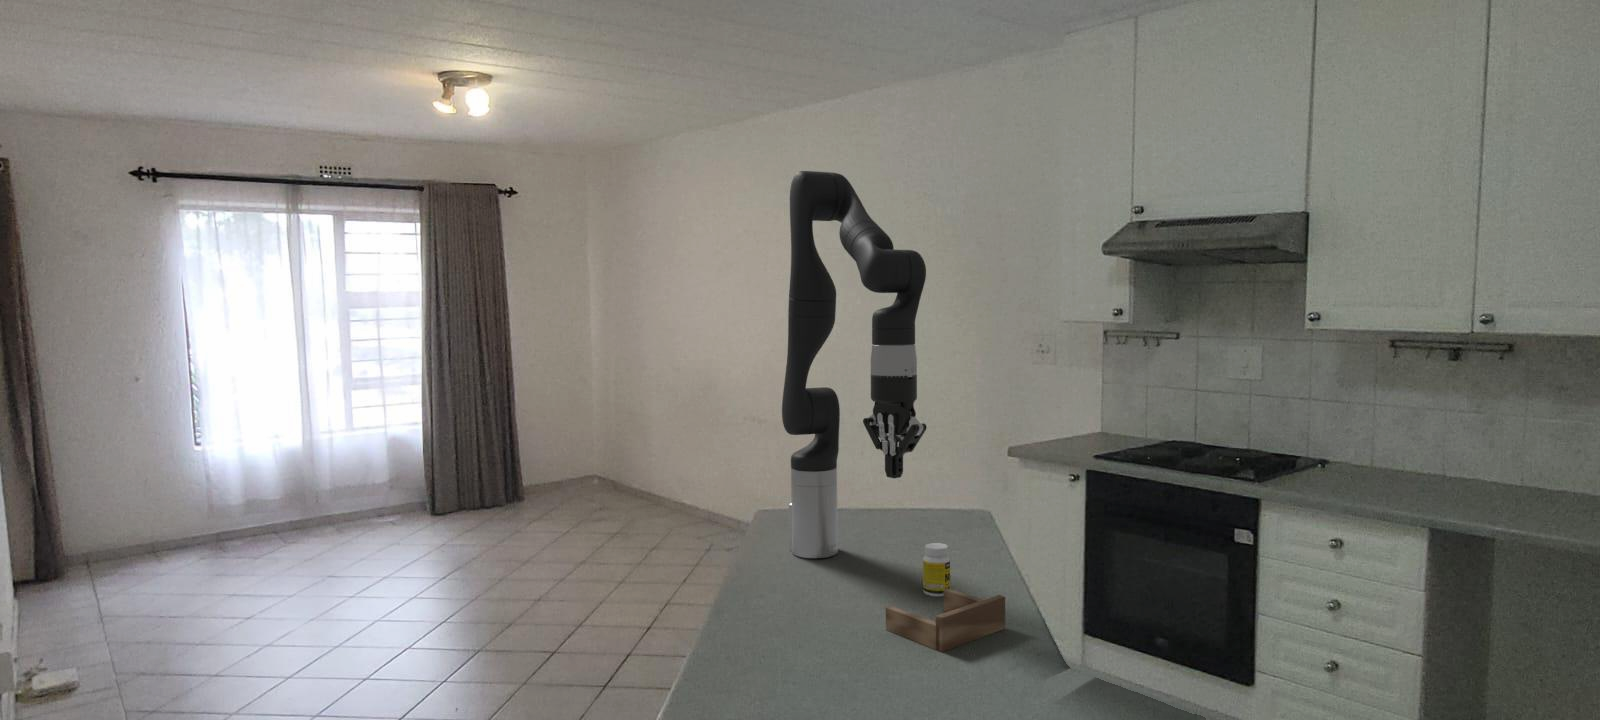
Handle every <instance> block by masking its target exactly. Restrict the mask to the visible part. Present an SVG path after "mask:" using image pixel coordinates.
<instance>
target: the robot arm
mask: <svg viewBox="0 0 1600 720" xmlns="http://www.w3.org/2000/svg"><path fill="white" fill-rule="evenodd" d="M789 220H790V221H789V222H790V223H789V224H790V226H789V227H790V277H789V291H788V292H789V293H788V310H787V311H788V313H787V314H788V316H787V317H788V319H787V320H788V321H787V325H788V326H787V329H788V330H787V333H788V334H787V354H786V365H785V366H786V367H785V375H784V382H783V383H784V384H783V390H782V391H783V392H782V401H781V403H782V404H781V417H782V418H781V419H782V425H783V427H784V430H785V431H786V433H787V434H789V435H791V436H792V435H793V436H799V435H800V436H803V435H804V436H805V435H814V437H813V439H812V440H811V441H810V443H809V444H807V445H805V446H804V447H802V448H801V449H799V450H796V451H795V452H793V453H792V454H791V456H790V483H791V484H790V487H791V488H790V490H791V491H790V493H791V503H789V504H788V535H789V536H788V538H789V540H788V542H789V547H788V548H789V549H788V550H789V551H791V553H792V555H794V556H795V557H798V558H799V557H800V558H805V559H824V558H830V557H833V556H835V555H837V554H838V552H839V545H838V544H839V543H838V542H839V541H838V539H839V538H838V534H839V530H838V524H839V523H838V519H839V518H838V456H839V447H840V441H839V440H840V438H839V437H840V424H841V423H840V422H841V421H840V420H841V419H840V417H841V415H840V414H841V410H840V409H841V408H840V401H839V397H838V395H837V393H836V391H835V390H834V389H833V388H831V387H807V381H808V377H809V372H810V369H811V366H812V363H813V362H814V359H815V358H816V356H817V355H818V353H819V352H820V350H821V349H822V347H823V345H824V344H825V343H826V341H827V340H828V337H830V335H831V333H832V330H833V328H834V325H835V322H836V309H837V308H836V307H837V289H836V286H835V283H834V281H833V278H832V276H831V275H830V272H829V271H828V269H827V267H826V265H825V264H824V262H823V260H822V258H821V257H820V254H819V252H818V250H817V247H816V243H815V238H814V231H813V229H814V228H813V226H814V225H813V224H814V223H813V222H815V221H816V222H833V221H837V222H839V223H840V227H839V231H838V232H839V239H840V242H841V245H842V248H843V249H844V250H845V251H846V252H847V254H848V255H849V256H850V257H851V259H853V261H855V263H856V266H857V269H858V272H859V277H860V280H861V283H862V284H863V286H864V287H865V288H866V289H867V290H869V291H871V292H873V293H876V294H894V293H895V294H896V297H895V299H894V301H893V303H892V305H890V306H887V307H882V308H879V309H877V310H875V311H874V312H873V313H872V318H871V353H870V400H871V401H873V402H874V405H873V408H872V414H871V415H870V416H869V417H865V418H863V419H862V420H863V421H862V424H863V425H864V428H865V429H866V432H867V434H868V435H869V437H870V440H871V441H872V444H873V445H874V448H875V449H876V450H880V451H881V452H882V453H883V454H884V471H885V477H887V478H890V479H900V478H901V477H902V476H903V472H904V455H905V454H907V453H912V452H913V451H914V450H915V448H916V447H917V445H918V444H919V442H920V440H921V439H922V437H923V435H924V434H925V433H926V430H927V427H928V426H927V424H926V423H924V422H923V423H920V421H919V420H918V419H917V418H916V416H917V415H916V414H917V413H916V410H915V407H914V403H915V401H917V400H918V399H917V398H918V374H917V373H918V365H917V364H918V359H917V350H916V319H917V318H916V317H917V314H918V310H919V306H920V300H921V299H922V298H921V297H922V294H923V290H924V286H925V284H926V283H925V282H926V280H927V279H926V277H927V266H926V263H925V261H924V260H925V259H924V257H922V255H921V254H920V253H919V252H918V251H916V250H912V249H894V247H895V246H894V243H893V241H892V239H891V237H890V235H888V234H887V233H886V232H885V231H884V230H883V228H882V227H881V226H879V225H878V224H877V223H876V222H875V221H874V220H873V218H872V217H870V215H869V213H868V212H867V210H866V208H865V206H864V205H863V203H862V201H861V199H860V197H859V196H858V194H857V192H856V191H855V189H854V187H853V186H852V184H851V182H850V181H849V180H848V179H847V178H846V176H844V175H843V174H841V173H837V172H831V171H829V172H827V171H813V170H799V171H798V172H796V173H795V174H794V176H793V178H792V179H791V183H790V190H789Z"/></svg>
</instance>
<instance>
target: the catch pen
mask: <svg viewBox="0 0 1600 720" xmlns="http://www.w3.org/2000/svg"><path fill="white" fill-rule="evenodd" d="M943 593H944V596H943V612H944V613H940V614H937V615H935V621H934V620H932V619H928V618H925V617H923V616H920V615H918V614H914V613H912V612H909V611H906V610H904V609H901V608H898V607H896V606H893V605H890V606H887V607H886V606H885V631H888V632H890V633H893V634H895V635H898V636H900V637H903V638H906V639H907V640H910V641H913V642H915V643H918V644H920V645H923V646H926V647H928V648H930V649H934V650H936V651H939V652H941V653H944V652H947V651H949V650H951V649H956V648H957V647H959V646H962V645H965V644H968V643H970V642H974V641H975V640H978V639H981V638H984V637H986V636H989V635H992V634H994V633H997V632H999V631H1002V630H1006V596H1004V595H1001V594H997V595H995V596H991V597H989V598H985V599H983V598H981V597H977V596H974V595H970V594H967V593H965V592H961V591H958V590H954V589H952V588H950V589H949V588H948V589H945V590H943Z"/></svg>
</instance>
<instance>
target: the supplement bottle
mask: <svg viewBox="0 0 1600 720" xmlns="http://www.w3.org/2000/svg"><path fill="white" fill-rule="evenodd" d="M924 554H925V555H924V556H923V557H922V583H923V584H922V590H923V594H925V595H927V596H931V597H944V593H943V590H945V589H948V588H949V589H951V559H950V557H949V556H948V555H949V546H948V544H945V543H939V542H932V543H927V544H925V545H924Z"/></svg>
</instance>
